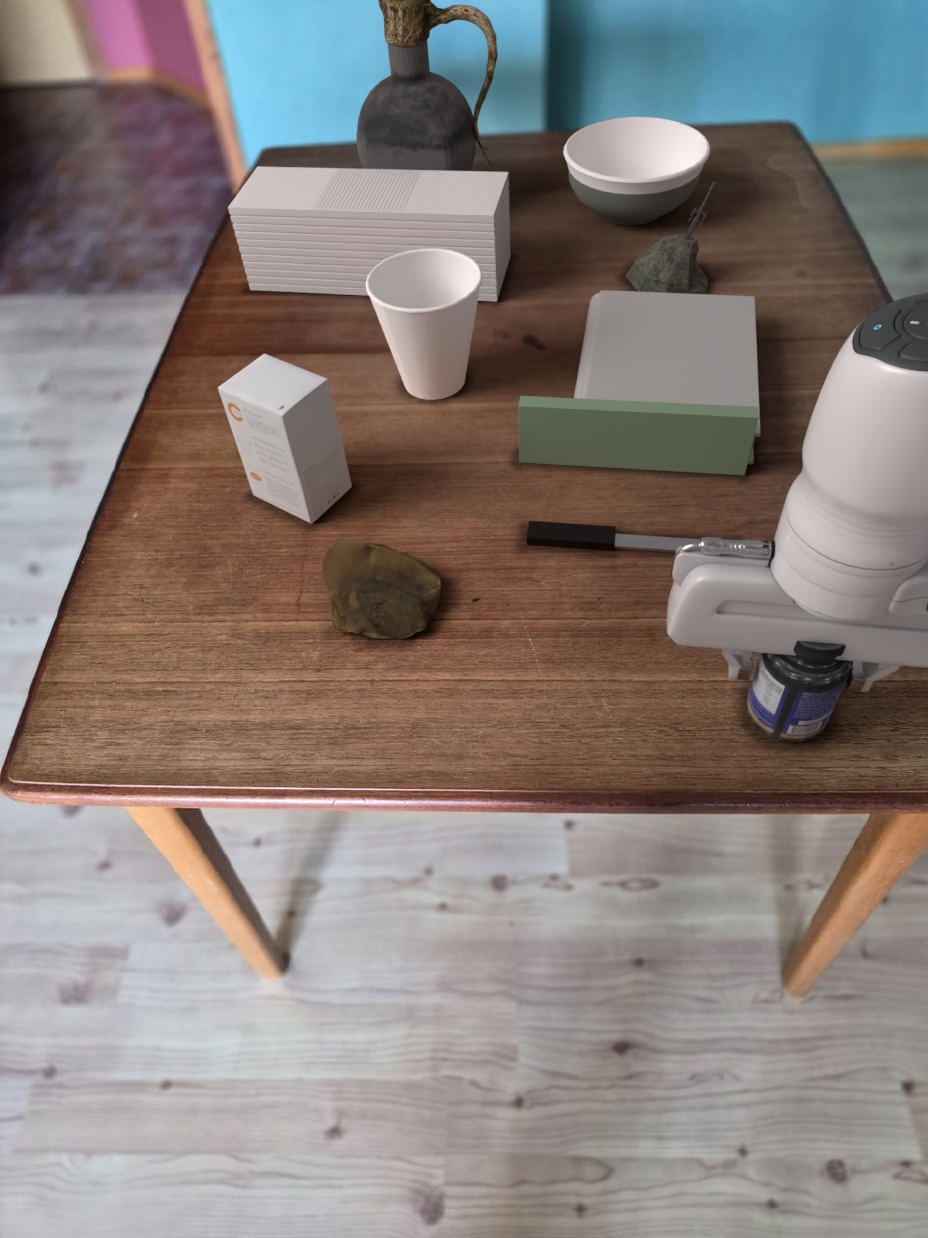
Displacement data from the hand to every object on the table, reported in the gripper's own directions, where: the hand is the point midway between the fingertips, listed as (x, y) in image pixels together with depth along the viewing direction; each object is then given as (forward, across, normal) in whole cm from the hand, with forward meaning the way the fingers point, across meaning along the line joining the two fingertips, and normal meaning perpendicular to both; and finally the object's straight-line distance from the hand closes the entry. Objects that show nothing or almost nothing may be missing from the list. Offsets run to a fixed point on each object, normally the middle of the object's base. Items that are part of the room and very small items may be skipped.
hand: (796, 678), depth 66 cm
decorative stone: (+5, -34, +8) cm, 35 cm away
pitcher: (+5, -42, +79) cm, 89 cm away
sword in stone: (+5, -10, +62) cm, 63 cm away
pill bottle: (+4, 0, 0) cm, 5 cm away
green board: (+4, -13, +28) cm, 31 cm away
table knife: (+4, -13, +17) cm, 22 cm away
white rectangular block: (+5, -10, +41) cm, 42 cm away
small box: (+5, -45, +21) cm, 50 cm away
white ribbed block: (+5, -46, +62) cm, 77 cm away
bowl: (+5, -15, +80) cm, 81 cm away
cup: (+5, -35, +40) cm, 53 cm away
